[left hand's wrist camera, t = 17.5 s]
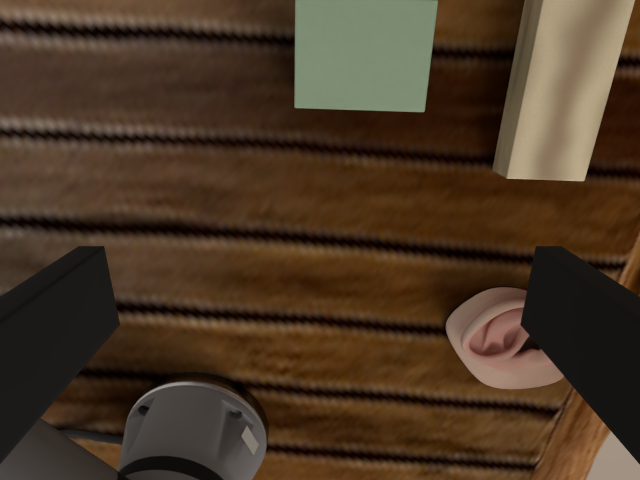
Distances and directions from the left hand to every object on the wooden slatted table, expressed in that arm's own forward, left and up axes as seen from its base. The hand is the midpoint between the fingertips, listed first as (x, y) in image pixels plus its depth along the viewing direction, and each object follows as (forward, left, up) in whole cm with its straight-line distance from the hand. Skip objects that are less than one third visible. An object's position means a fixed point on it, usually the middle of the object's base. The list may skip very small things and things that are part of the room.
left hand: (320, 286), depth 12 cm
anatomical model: (+19, -17, -23) cm, 34 cm away
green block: (+2, +7, -23) cm, 24 cm away
